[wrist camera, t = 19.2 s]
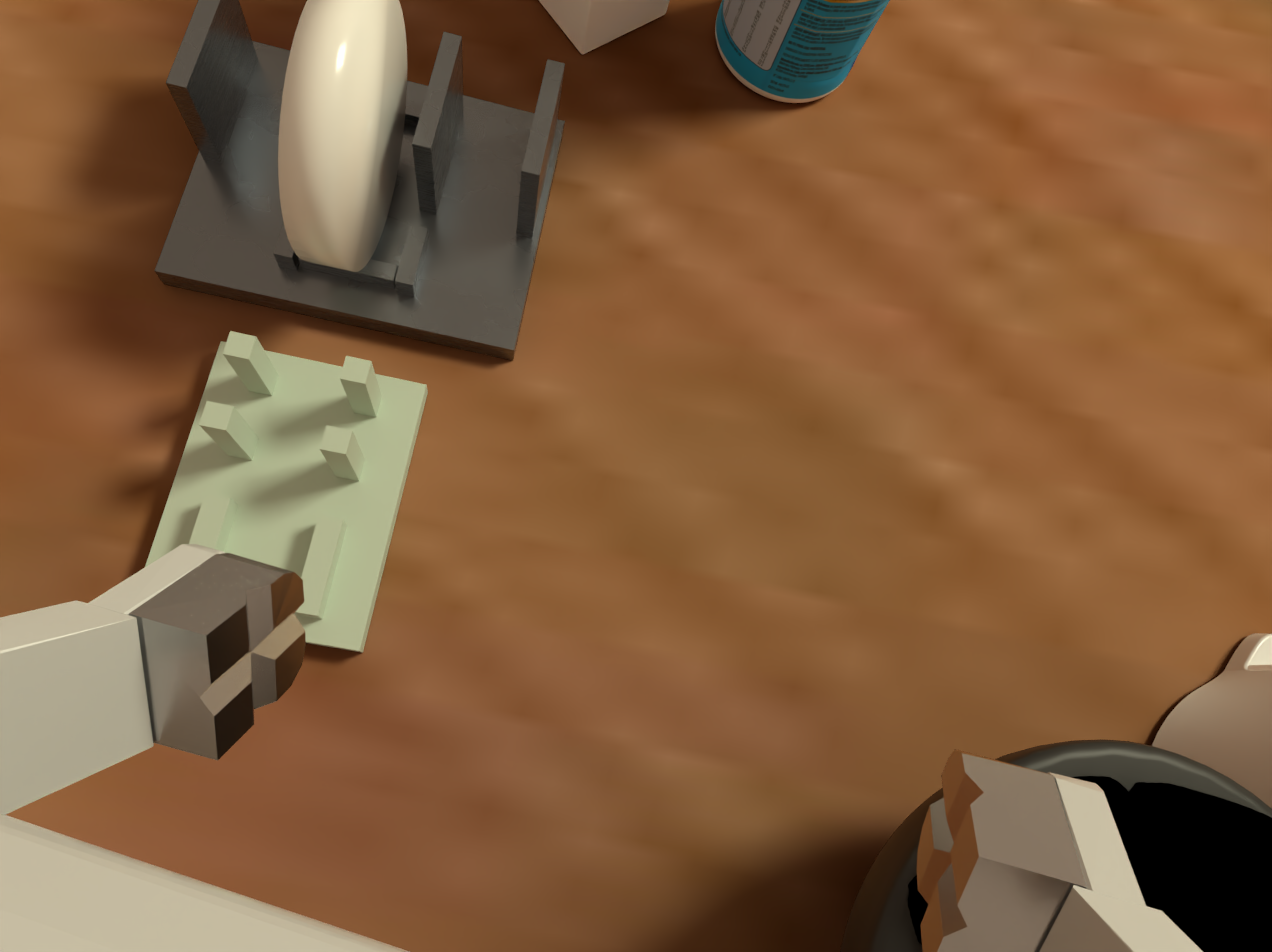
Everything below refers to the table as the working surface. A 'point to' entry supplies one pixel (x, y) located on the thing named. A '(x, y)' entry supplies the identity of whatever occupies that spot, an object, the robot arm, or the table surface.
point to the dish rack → (418, 215)
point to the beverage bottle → (794, 43)
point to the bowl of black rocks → (1151, 834)
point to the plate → (342, 128)
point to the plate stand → (298, 477)
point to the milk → (601, 18)
